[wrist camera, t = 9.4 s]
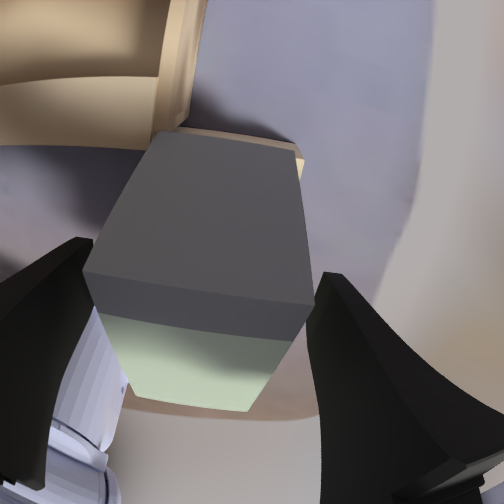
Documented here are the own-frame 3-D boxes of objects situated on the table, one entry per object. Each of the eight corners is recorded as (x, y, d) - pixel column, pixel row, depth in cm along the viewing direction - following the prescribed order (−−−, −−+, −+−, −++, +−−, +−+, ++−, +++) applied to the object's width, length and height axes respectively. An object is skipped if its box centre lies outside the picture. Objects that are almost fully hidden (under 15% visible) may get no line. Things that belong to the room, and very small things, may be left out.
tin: (252, 293, 16) (247, 411, 12) (162, 280, 15) (136, 396, 11) (294, 150, 10) (315, 305, 6) (159, 130, 10) (82, 270, 5)
